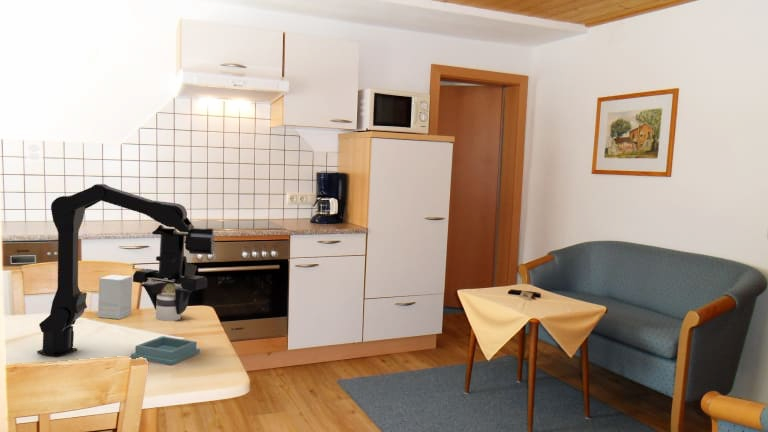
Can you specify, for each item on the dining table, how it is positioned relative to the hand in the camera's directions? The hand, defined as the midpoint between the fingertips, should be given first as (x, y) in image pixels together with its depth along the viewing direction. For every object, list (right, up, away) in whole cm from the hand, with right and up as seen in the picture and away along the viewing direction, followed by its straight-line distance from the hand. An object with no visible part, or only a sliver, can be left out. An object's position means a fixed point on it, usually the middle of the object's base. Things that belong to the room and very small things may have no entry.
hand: (168, 312), depth 150 cm
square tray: (-1, -11, +1) cm, 11 cm away
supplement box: (-30, -7, +35) cm, 47 cm away
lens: (0, -2, 0) cm, 2 cm away
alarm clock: (-13, -8, +38) cm, 41 cm away
